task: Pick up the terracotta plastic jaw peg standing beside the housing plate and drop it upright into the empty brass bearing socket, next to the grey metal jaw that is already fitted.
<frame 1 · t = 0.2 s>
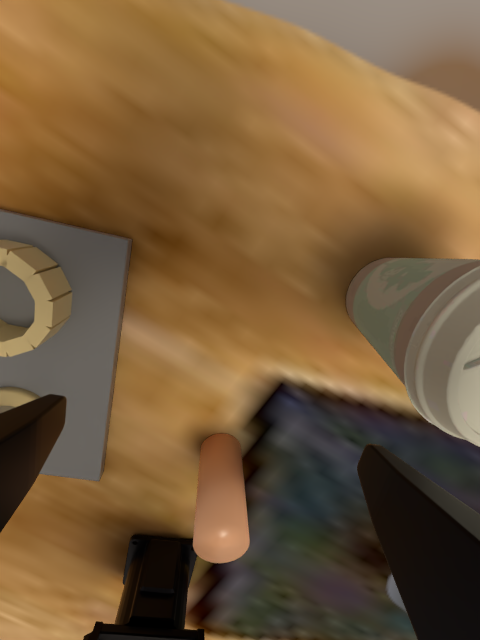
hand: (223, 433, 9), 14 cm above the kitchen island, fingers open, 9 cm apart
housing: (26, 354, 23), on the kitchen island
jaw peg: (220, 450, 26), on the kitchen island
coffee cup: (381, 295, 23), on the kitchen island
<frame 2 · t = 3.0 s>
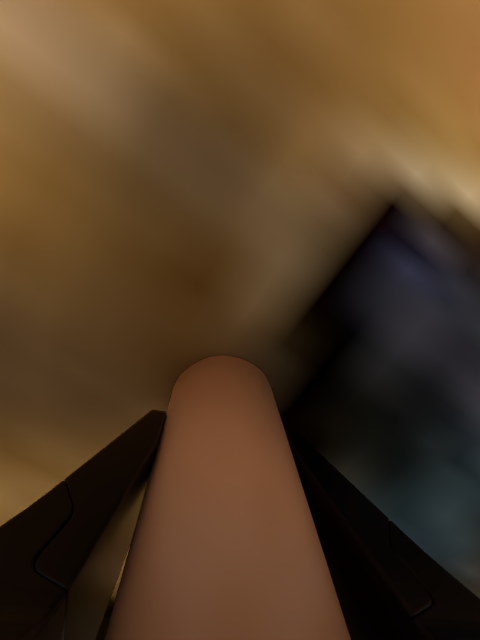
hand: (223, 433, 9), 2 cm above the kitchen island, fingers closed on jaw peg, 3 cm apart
jaw peg: (222, 402, 11), on the kitchen island, touching gripper
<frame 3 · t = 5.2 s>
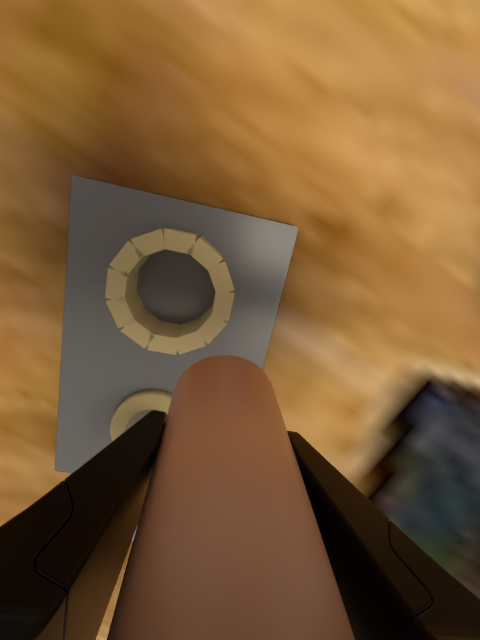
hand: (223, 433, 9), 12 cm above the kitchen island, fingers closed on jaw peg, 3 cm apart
housing: (167, 354, 21), on the kitchen island
jaw peg: (223, 401, 10), point 10 cm above the kitchen island, touching gripper
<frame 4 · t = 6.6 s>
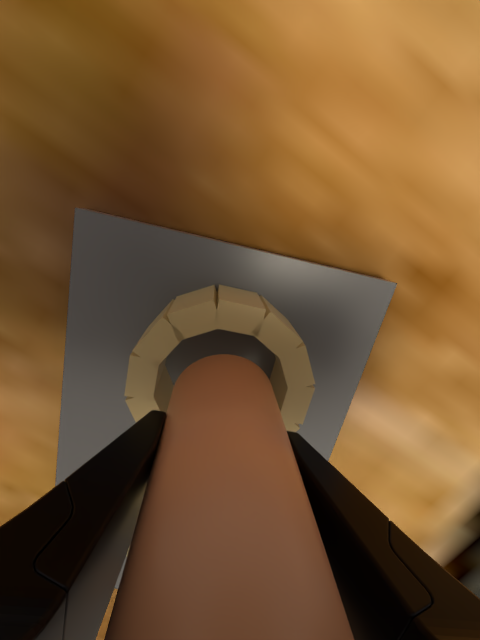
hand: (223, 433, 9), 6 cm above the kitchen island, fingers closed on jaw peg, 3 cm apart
housing: (200, 439, 16), on the kitchen island
jaw peg: (223, 400, 10), point 4 cm above the kitchen island, touching gripper
when the fingers open (4 cm above the kitchen island, at t = 7.6 s): jaw peg drops 1 cm, resting on housing.
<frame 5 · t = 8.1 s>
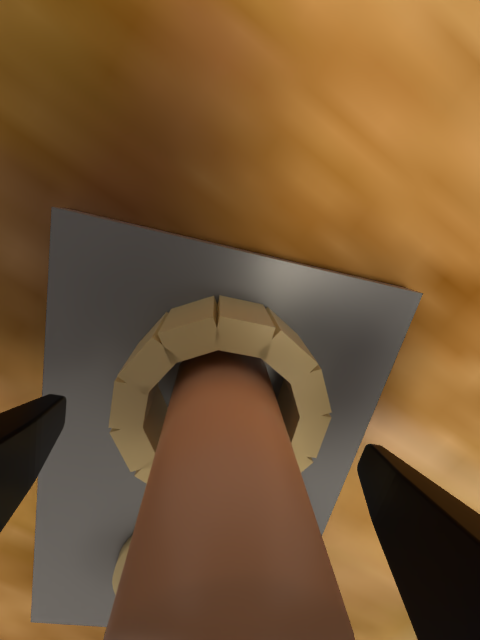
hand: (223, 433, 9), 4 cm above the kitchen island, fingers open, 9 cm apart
housing: (198, 465, 14), on the kitchen island
jaw peg: (222, 380, 12), point 1 cm above the kitchen island, touching housing
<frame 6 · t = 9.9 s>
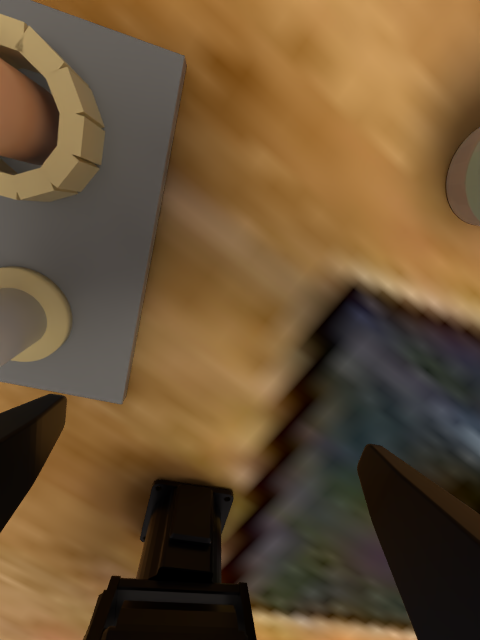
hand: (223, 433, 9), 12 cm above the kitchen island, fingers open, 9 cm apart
housing: (38, 228, 18), on the kitchen island
jaw peg: (34, 126, 15), point 1 cm above the kitchen island, touching housing
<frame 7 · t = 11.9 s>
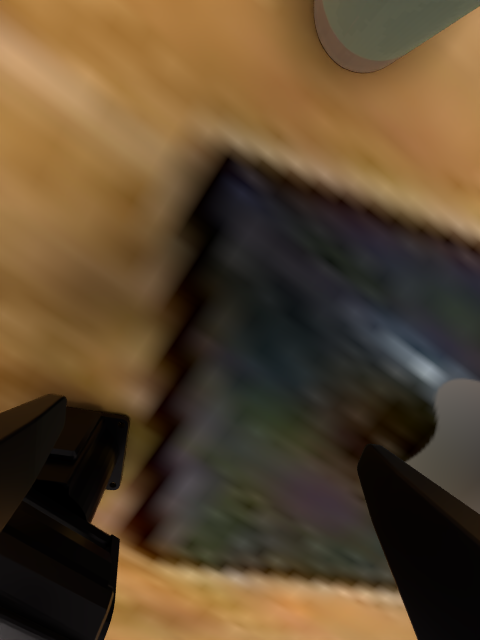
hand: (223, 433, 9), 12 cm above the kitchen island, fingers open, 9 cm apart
coffee cup: (366, 9, 16), on the kitchen island
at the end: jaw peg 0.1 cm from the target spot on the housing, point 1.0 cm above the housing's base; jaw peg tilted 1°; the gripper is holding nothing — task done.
